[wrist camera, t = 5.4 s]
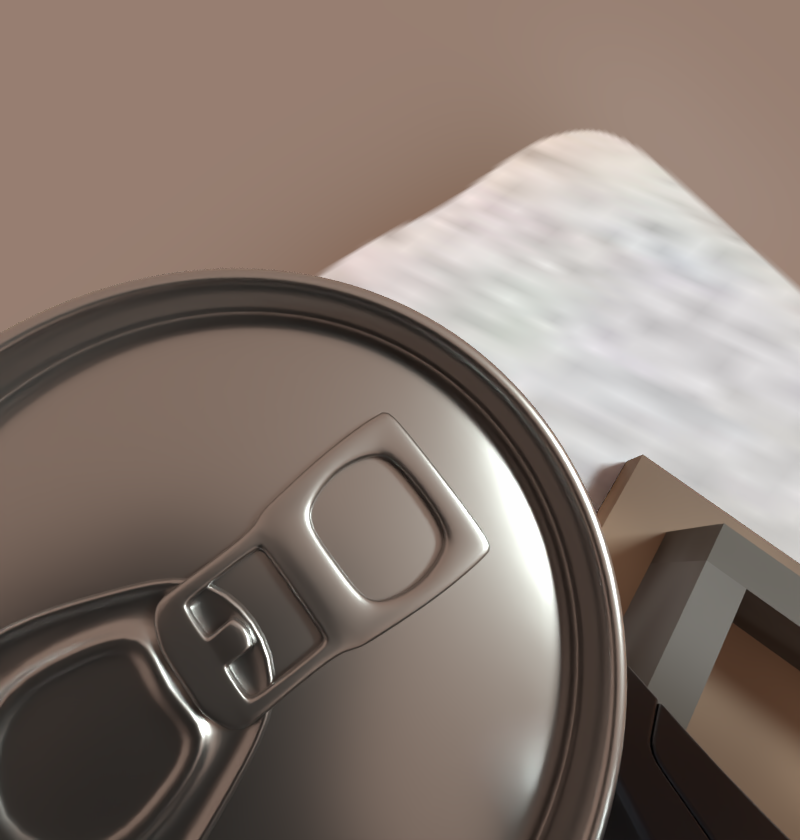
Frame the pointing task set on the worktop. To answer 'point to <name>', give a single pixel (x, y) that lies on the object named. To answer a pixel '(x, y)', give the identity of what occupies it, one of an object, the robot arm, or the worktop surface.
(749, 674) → the socket
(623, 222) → the worktop surface
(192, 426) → the can
